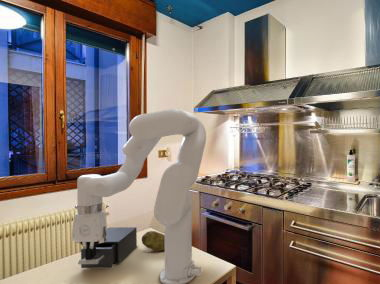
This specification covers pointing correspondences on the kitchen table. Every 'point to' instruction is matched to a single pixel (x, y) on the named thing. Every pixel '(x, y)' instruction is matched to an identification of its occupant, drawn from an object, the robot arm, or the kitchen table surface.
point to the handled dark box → (100, 257)
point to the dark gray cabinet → (122, 241)
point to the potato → (153, 240)
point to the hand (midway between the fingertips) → (90, 257)
